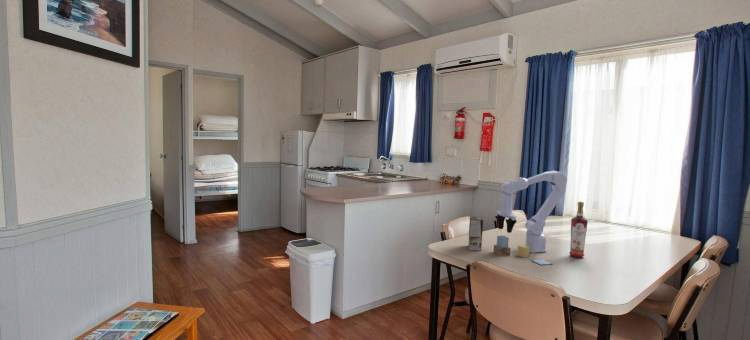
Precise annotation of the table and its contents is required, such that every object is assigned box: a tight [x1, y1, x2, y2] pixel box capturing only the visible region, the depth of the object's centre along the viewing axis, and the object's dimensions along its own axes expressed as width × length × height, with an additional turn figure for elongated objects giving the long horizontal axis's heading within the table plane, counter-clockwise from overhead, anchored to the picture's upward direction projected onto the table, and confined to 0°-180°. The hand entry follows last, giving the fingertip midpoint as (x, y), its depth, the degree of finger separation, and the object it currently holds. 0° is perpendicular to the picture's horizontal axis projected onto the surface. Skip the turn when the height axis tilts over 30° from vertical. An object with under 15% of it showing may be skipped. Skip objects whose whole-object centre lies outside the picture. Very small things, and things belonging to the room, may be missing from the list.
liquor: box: [568, 201, 589, 259], centre depth 187 cm, size 7×7×28 cm
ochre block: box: [516, 244, 531, 258], centre depth 187 cm, size 4×4×5 cm
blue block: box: [496, 235, 510, 248], centre depth 189 cm, size 4×4×5 cm
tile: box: [530, 258, 554, 266], centre depth 177 cm, size 7×7×1 cm
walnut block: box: [493, 244, 512, 256], centre depth 189 cm, size 6×6×4 cm
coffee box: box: [468, 216, 484, 252], centre depth 197 cm, size 9×6×16 cm
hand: (504, 230), depth 197 cm, fingers open, 7 cm apart
